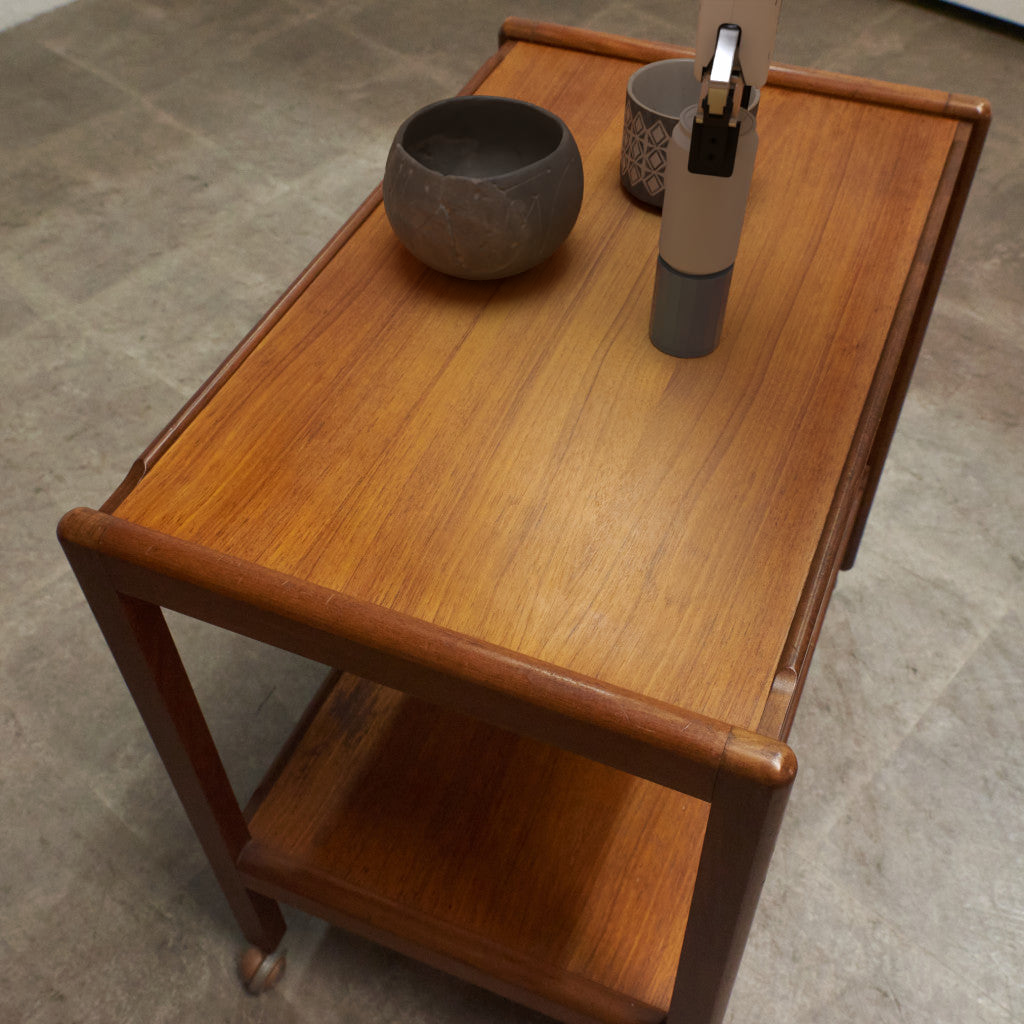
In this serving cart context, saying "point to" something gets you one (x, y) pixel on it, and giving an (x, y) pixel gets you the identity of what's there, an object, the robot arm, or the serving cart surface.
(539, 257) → the bowl
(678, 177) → the beverage can
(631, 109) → the planter
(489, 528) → the serving cart surface
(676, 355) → the cup
